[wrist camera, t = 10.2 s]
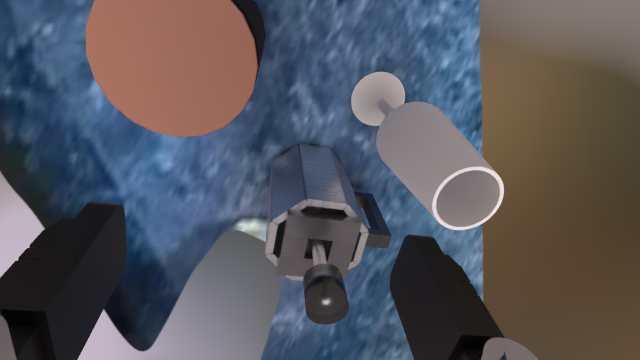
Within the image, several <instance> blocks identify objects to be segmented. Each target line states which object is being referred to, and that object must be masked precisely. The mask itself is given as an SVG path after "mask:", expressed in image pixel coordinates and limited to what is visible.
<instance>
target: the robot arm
mask: <svg viewBox="0 0 640 360" xmlns="http://www.w3.org/2000/svg"><path fill="white" fill-rule="evenodd" d="M126 257H127V242H126V228H125V213H124V208H123V206H122V205H119V204H109V203H99V202H89V203H87V205H86V206H85V207H84V208H83V209H82V211H81V212H80V213H79V214H78V215H77V217H76V218H75V219H74V220H73V219H62V220H60V221H59V222H57V223H55V224H53V225H52V226H50V227H48V228H46V229H45V230H43V231H42V232H41V233H40V235H39V236H38V237H37V238H36V239H35V240H34V241H33V242H32V243H31V244H30V248H27V249H26V250H25V251H24V253H22V254H21V256H20V257H19V260H18V261H15V262H14V263H13V264H12V266H11V267H10V268H9V269H8V270H7V271H6V272H5V273H4V274H3V276H2V277H1V278H0V360H77V359H78V357H79V355H80V353H81V352H82V350H83V347H84V346H85V344H86V342H87V340H88V338H89V336H90V334H91V332H92V330H93V328H94V326H95V324H96V322H97V321H98V319H99V317H100V315H101V313H102V311H103V309H104V307H105V305H106V303H107V301H108V299H109V297H110V295H111V294H112V292H113V290H114V288H115V286H116V284H117V282H118V280H119V278H120V276H121V274H122V272H123V269H124V266H125V263H126ZM390 289H391V293H392V296H393V299H394V302H395V305H396V308H397V311H398V314H399V317H400V320H401V323H402V325H403V328H404V331H405V334H406V337H407V340H408V343H409V346H410V349H411V351H412V354H413V357H414V360H538V359H537V358H536V357H535V356H534V355H533V354H532V353H531V352H530V351H529V350H528V349H526V348H525V347H523V346H522V345H520V344H518V343H517V342H514V341H512V340H509V339H506V338H505V337H504V336H503V334H502V333H501V331H500V329H499V328H498V326H497V324H496V323H495V321H494V319H493V318H492V316H491V315H490V313H489V311H488V310H487V308H486V306H485V305H484V303H483V301H482V300H481V298H480V297H479V296H477V292H476V290H475V288H474V287H473V285H472V284H470V280H469V279H468V277H467V275H466V274H465V272H464V270H463V269H462V267H461V266H460V265H458V264H457V263H456V262H455V261H454V260H453V259H452V258H451V257H450V256H449V255H444V254H443V252H442V251H441V249H440V247H439V245H438V244H437V242H436V240H435V239H434V238H433V237H428V236H418V235H407V236H406V237H405V238H404V240H403V243H402V246H401V248H400V251H399V254H398V256H397V259H396V262H395V264H394V267H393V270H392V273H391V277H390Z"/></svg>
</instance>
